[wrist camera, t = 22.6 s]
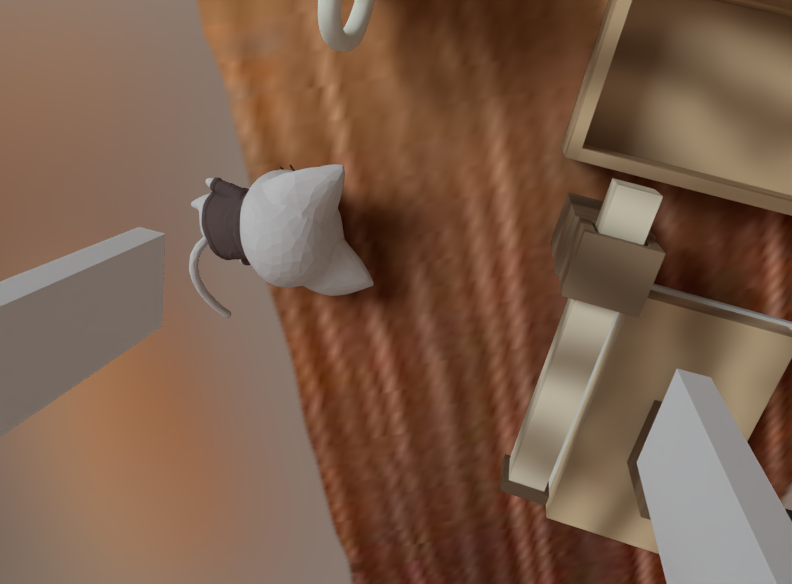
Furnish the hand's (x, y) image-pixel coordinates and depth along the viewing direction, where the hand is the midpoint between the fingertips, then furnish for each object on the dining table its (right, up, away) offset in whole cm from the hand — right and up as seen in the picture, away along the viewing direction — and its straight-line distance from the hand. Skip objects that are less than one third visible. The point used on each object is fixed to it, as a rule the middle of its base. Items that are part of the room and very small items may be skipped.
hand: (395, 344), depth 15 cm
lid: (+21, -9, +33) cm, 41 cm away
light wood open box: (+23, +11, +26) cm, 37 cm away
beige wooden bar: (+12, -2, +25) cm, 27 cm away
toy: (-9, +7, +36) cm, 37 cm away
